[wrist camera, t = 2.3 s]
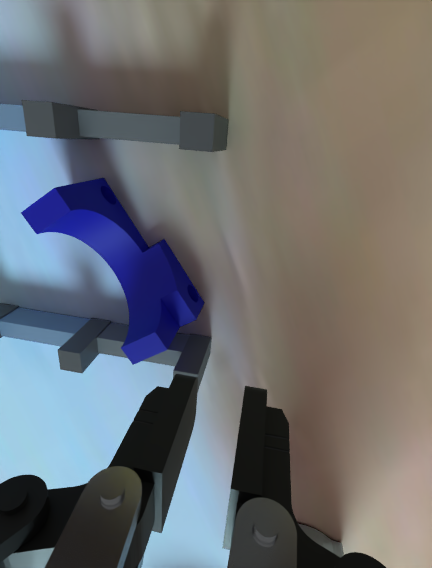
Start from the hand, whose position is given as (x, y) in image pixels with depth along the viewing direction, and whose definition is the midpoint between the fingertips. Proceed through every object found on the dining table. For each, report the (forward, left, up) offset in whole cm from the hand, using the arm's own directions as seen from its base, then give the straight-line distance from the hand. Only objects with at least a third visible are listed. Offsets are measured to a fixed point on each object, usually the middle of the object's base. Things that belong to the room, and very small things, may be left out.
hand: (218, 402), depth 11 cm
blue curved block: (+9, +1, -15) cm, 18 cm away
